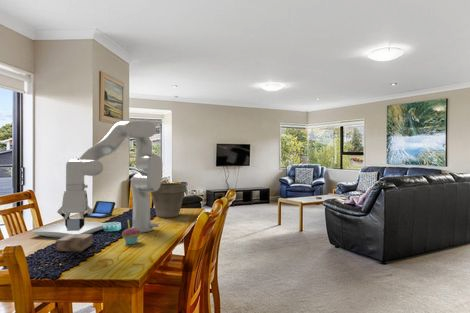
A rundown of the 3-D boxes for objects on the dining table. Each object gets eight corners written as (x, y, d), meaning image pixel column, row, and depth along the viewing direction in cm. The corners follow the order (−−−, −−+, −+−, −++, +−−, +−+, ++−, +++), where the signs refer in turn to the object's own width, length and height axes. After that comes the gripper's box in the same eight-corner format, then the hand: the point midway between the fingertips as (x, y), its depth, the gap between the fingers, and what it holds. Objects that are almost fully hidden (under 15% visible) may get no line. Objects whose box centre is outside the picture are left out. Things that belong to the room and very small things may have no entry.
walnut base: (92, 244, 155) (92, 234, 155) (81, 251, 144) (81, 240, 144) (69, 244, 155) (69, 234, 155) (56, 251, 144) (56, 240, 144)
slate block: (82, 228, 152) (82, 217, 152) (79, 230, 147) (79, 219, 147) (70, 228, 152) (70, 217, 152) (67, 230, 147) (67, 219, 147)
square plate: (77, 241, 161) (77, 233, 161) (30, 238, 166) (30, 230, 166) (109, 228, 187) (109, 222, 187) (67, 226, 193) (67, 219, 193)
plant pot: (157, 211, 238) (157, 181, 238) (190, 212, 235) (190, 182, 235) (143, 218, 214) (143, 185, 213) (179, 220, 210) (179, 186, 210)
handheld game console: (83, 217, 217) (83, 203, 217) (96, 213, 230) (96, 200, 230) (103, 219, 213) (103, 204, 213) (116, 215, 226) (116, 201, 226)
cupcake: (130, 246, 152) (130, 220, 152) (117, 243, 156) (118, 218, 156) (144, 242, 159) (144, 217, 159) (132, 239, 164) (132, 215, 163)
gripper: (97, 186, 154) (96, 225, 155) (58, 186, 152) (57, 226, 152) (92, 188, 147) (92, 229, 147) (51, 188, 144) (51, 230, 144)
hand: (74, 227), depth 150 cm, fingers closed on slate block, 5 cm apart
